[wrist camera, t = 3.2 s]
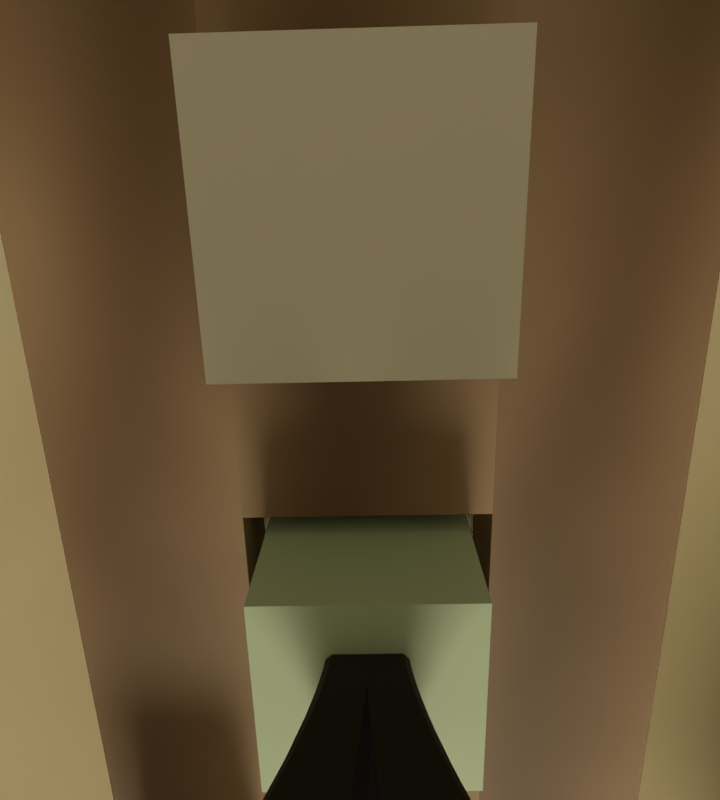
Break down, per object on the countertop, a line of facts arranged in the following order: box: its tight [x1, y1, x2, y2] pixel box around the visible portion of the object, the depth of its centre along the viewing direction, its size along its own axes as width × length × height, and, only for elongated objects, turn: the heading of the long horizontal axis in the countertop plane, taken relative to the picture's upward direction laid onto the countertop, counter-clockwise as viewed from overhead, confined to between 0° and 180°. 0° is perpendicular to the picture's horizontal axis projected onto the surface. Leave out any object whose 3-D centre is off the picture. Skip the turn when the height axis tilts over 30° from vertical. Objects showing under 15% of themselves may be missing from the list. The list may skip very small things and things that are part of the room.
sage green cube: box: [244, 514, 492, 792], centre depth 12 cm, size 4×4×4 cm
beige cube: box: [169, 22, 537, 385], centre depth 9 cm, size 4×4×4 cm
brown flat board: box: [0, 0, 720, 800], centre depth 14 cm, size 12×24×2 cm, turn 1°
